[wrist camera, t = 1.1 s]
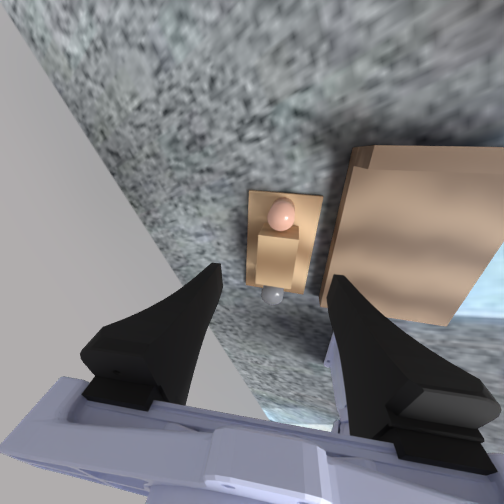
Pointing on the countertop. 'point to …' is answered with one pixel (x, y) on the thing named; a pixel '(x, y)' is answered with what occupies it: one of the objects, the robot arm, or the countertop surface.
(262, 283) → the wooden stand
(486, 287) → the countertop surface
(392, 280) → the light wood stepped block
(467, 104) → the countertop surface
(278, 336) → the countertop surface
